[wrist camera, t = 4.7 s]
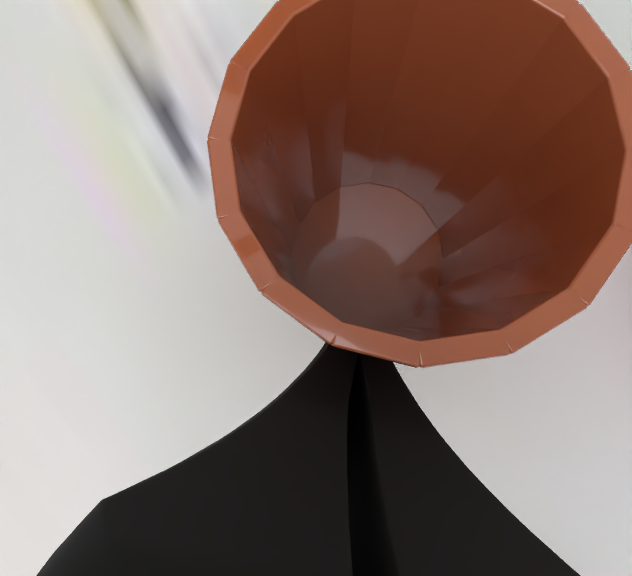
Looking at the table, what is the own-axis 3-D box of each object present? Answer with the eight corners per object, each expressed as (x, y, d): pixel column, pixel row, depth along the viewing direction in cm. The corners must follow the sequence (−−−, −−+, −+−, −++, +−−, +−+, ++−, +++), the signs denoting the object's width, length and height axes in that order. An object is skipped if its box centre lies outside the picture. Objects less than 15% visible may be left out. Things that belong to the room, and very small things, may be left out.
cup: (427, 357, 15) (608, 416, 5) (267, 317, 16) (158, 302, 6) (462, 199, 16) (681, -11, 6) (306, 165, 16) (269, -85, 6)
